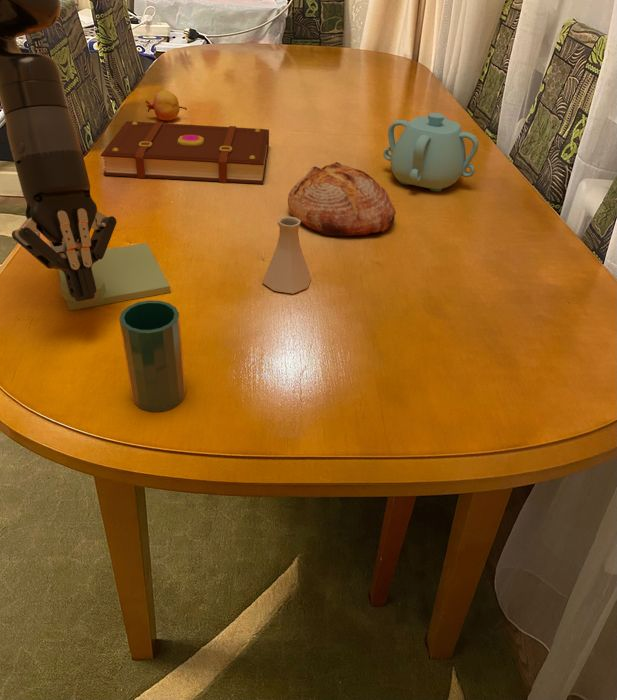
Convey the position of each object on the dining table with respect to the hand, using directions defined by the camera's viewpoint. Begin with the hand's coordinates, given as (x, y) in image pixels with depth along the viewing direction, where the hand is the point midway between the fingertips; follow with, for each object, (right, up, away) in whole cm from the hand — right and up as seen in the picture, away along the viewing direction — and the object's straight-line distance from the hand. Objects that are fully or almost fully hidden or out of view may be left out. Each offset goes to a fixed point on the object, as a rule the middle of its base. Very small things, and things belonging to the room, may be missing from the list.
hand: (85, 299), depth 74 cm
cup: (+10, -11, -4) cm, 16 cm away
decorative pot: (+52, +29, +54) cm, 80 cm away
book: (+2, +34, +55) cm, 65 cm away
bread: (+33, +18, +36) cm, 52 cm away
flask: (+24, +4, +18) cm, 30 cm away
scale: (-2, +5, +16) cm, 17 cm away
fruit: (-8, +51, +76) cm, 92 cm away
